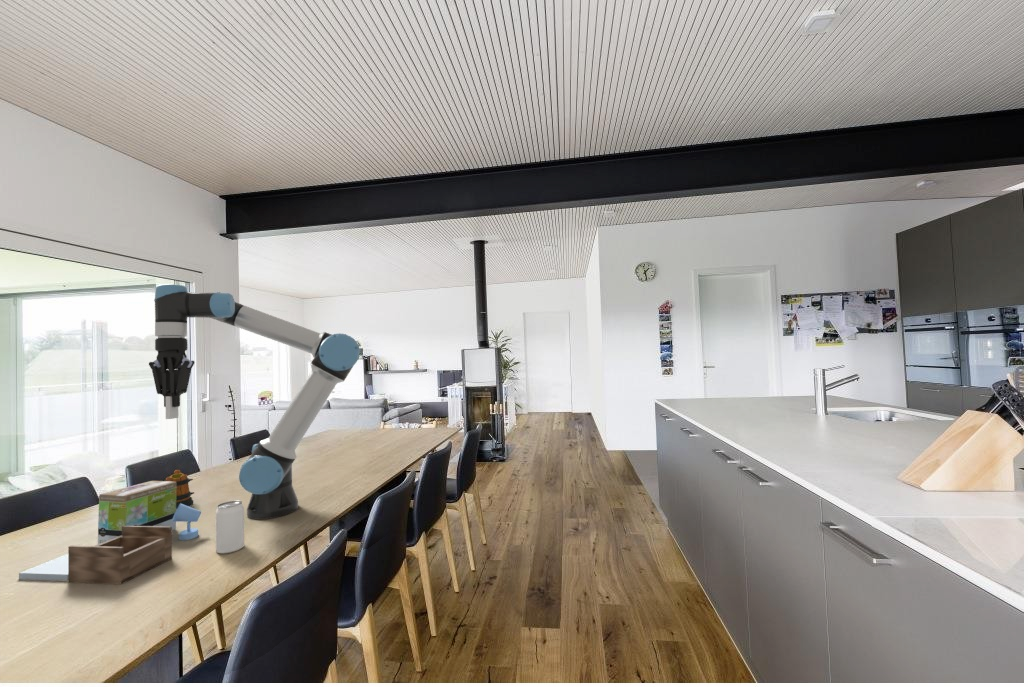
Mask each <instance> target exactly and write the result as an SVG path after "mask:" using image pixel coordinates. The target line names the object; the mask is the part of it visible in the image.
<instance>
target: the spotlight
mask: <svg viewBox="0 0 1028 687" xmlns="http://www.w3.org/2000/svg"><path fill="white" fill-rule="evenodd" d="M201 514H202V511H201V510H198V509H196V508H194V507H191V506H186V505H184V504H181V503H180V505H179V506H178V508H177V510H176V512H175V514H174V516H173V519H172V521H176V522H178V523H179V522H182V523H183V522H184V523H185V522H186V523H187V524H186V525H187V526H186V529H184V530H181V531H180V532H179V534H178V539H179V541H188V540H189V541H190V540H192V539H195V538H197V537H199V528H191V523H194V522H195V523H196V522H198V521H199V519H200V516H201Z"/></svg>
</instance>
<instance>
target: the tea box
mask: <svg viewBox="0 0 1028 687" xmlns="http://www.w3.org/2000/svg"><path fill="white" fill-rule="evenodd" d="M176 489H177V487H176V482H171V481H166V480H164V481H163V480H150V481H145V482H142V483H138V484H134V485H130V486H126V487H123V488H118V489H115V490H111V491H106V492H103V493H100V494H99V496H98V517H97V518H98V523H97V524H98V525H97V532H98V533H97V545H98V544H100V543H103V542H105V541H108V540H110V539H113V538H116V537H118V536H121V535H122V526H169V527H172V531H175V530H176V528H177V521H172V519H173V516H174V514H175V512H176Z"/></svg>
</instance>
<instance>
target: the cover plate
mask: <svg viewBox="0 0 1028 687" xmlns="http://www.w3.org/2000/svg"><path fill="white" fill-rule="evenodd" d="M18 580H34V581H55V580H61V581H60V582H68V553H66V554H63V555H61V556H59V557H56V558H53V559H51V560H48V561H46V562H43V563H40V564H38V565H36V566H34V567H31V568H28V569H26V570H24V571H21V572H18ZM63 580H64V581H63Z"/></svg>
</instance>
